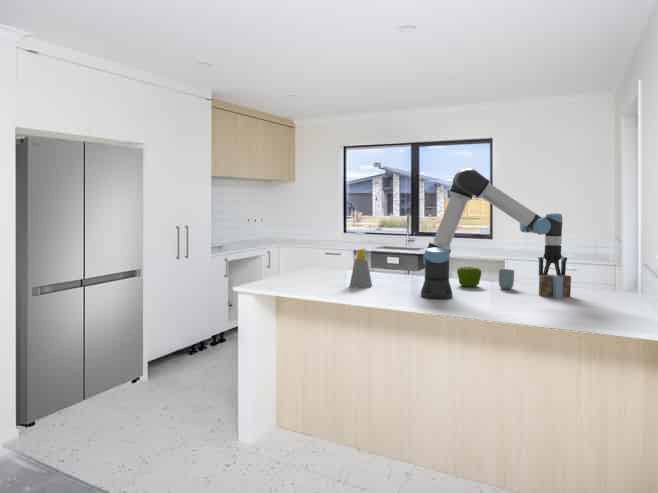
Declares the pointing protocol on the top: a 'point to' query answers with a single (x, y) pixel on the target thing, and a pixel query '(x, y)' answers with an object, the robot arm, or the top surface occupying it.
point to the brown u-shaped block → (547, 289)
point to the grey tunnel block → (557, 285)
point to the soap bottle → (361, 272)
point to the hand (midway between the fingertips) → (551, 290)
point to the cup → (506, 278)
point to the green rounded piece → (469, 276)
